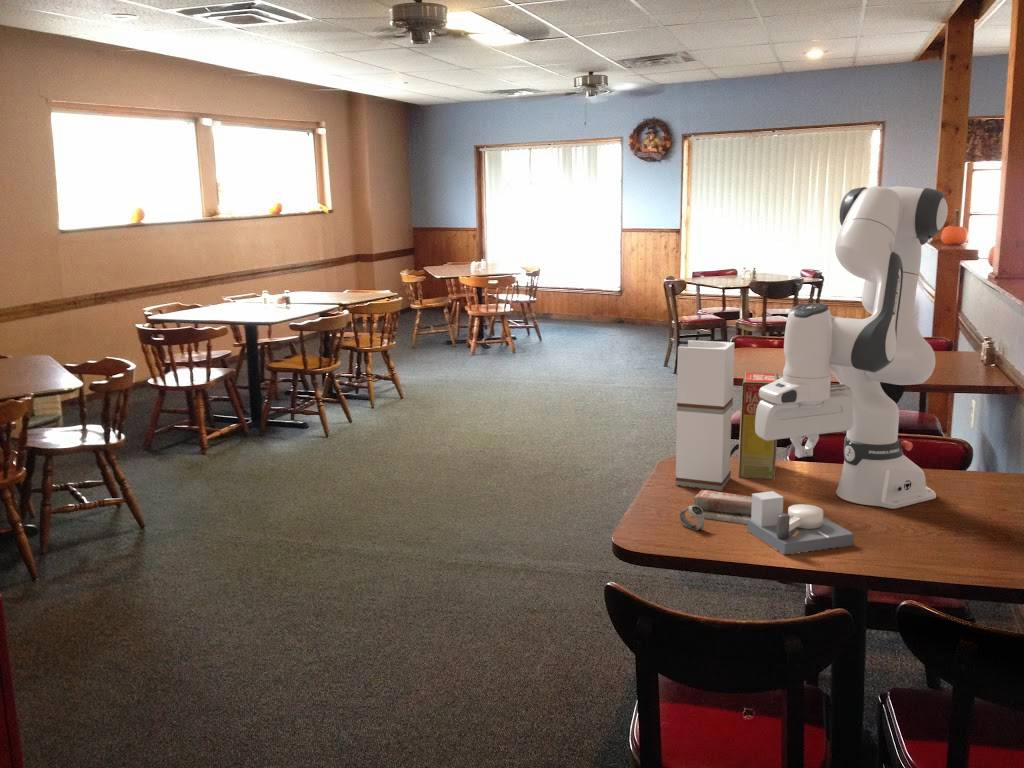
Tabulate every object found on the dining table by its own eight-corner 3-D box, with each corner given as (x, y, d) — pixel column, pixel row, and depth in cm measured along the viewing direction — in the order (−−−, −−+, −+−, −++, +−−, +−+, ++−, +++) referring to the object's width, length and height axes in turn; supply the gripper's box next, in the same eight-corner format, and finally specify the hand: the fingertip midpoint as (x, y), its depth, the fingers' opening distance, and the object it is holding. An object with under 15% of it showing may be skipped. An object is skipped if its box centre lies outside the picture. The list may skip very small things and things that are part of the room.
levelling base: (812, 521, 194) (814, 485, 192) (853, 545, 180) (855, 506, 179) (747, 530, 189) (748, 493, 188) (784, 555, 176) (786, 515, 174)
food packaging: (775, 480, 222) (779, 383, 217) (737, 477, 225) (740, 381, 219) (775, 464, 235) (779, 372, 229) (738, 462, 237) (741, 371, 232)
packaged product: (690, 498, 198) (700, 484, 207) (689, 518, 199) (700, 504, 208) (772, 508, 190) (780, 494, 199) (771, 529, 191) (779, 514, 200)
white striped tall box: (730, 477, 225) (734, 342, 217) (721, 490, 215) (725, 349, 208) (686, 472, 230) (688, 340, 222) (675, 485, 220) (677, 347, 213)
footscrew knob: (797, 514, 191) (797, 494, 190) (828, 521, 186) (829, 501, 185) (763, 533, 180) (764, 513, 179) (796, 542, 176) (797, 521, 175)
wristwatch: (697, 533, 189) (697, 511, 188) (676, 525, 194) (676, 503, 193) (708, 529, 191) (709, 507, 190) (687, 521, 196) (687, 500, 195)
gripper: (842, 379, 177) (839, 446, 180) (751, 389, 172) (750, 457, 175) (862, 386, 171) (859, 454, 174) (769, 396, 166) (767, 466, 169)
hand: (803, 456), depth 174 cm, fingers closed
